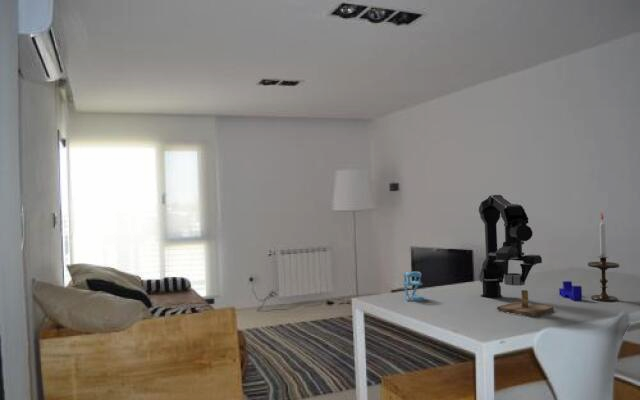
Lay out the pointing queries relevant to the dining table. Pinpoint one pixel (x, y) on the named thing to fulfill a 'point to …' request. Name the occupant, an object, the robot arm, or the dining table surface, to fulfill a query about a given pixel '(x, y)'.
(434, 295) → the dining table surface
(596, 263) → the candlestick
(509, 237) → the robot arm
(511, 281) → the ring
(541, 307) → the post block
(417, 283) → the chair
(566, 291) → the cable clip
